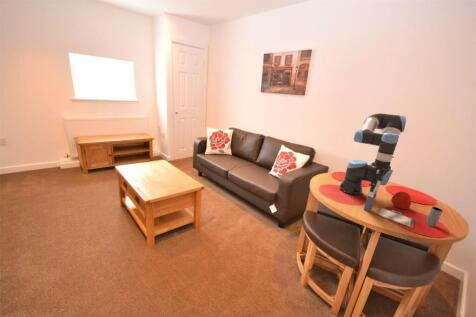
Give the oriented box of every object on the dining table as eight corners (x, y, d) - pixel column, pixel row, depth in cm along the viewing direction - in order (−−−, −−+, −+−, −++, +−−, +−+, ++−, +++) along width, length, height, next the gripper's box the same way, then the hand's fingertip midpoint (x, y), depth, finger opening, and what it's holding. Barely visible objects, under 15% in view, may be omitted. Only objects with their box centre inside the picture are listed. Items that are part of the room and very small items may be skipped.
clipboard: (375, 214, 125) (375, 212, 125) (379, 207, 134) (380, 205, 134) (412, 228, 113) (413, 227, 113) (414, 219, 123) (415, 218, 122)
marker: (363, 209, 130) (369, 190, 125) (365, 207, 132) (371, 188, 128) (370, 212, 127) (376, 192, 123) (371, 210, 130) (377, 190, 126)
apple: (399, 202, 143) (403, 188, 140) (413, 210, 133) (418, 196, 130) (386, 202, 141) (391, 188, 138) (399, 211, 131) (405, 196, 128)
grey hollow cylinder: (423, 222, 121) (429, 206, 118) (430, 222, 121) (436, 206, 118) (430, 226, 117) (437, 211, 114) (438, 227, 117) (445, 211, 114)
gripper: (386, 165, 108) (375, 202, 115) (394, 158, 126) (384, 189, 132) (370, 161, 113) (360, 196, 119) (380, 155, 131) (370, 185, 137)
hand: (372, 193), depth 126 cm, fingers open, 13 cm apart
